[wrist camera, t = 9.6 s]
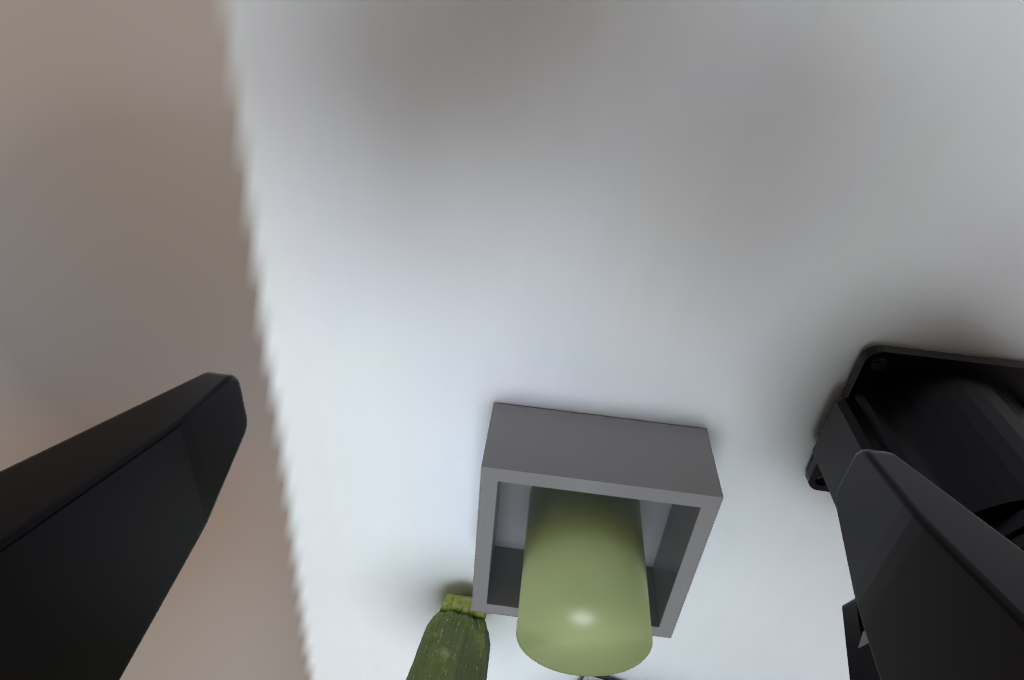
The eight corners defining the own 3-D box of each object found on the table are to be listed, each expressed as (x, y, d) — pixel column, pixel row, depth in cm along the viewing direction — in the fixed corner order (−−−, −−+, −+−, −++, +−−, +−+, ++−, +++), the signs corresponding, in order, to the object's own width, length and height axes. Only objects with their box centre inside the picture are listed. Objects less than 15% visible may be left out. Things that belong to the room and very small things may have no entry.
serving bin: (706, 428, 24) (723, 497, 21) (661, 565, 29) (670, 638, 26) (493, 402, 24) (481, 466, 21) (483, 542, 29) (471, 610, 26)
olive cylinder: (648, 469, 25) (664, 608, 20) (629, 543, 27) (639, 683, 22) (534, 456, 25) (520, 590, 20) (525, 531, 27) (512, 667, 22)
